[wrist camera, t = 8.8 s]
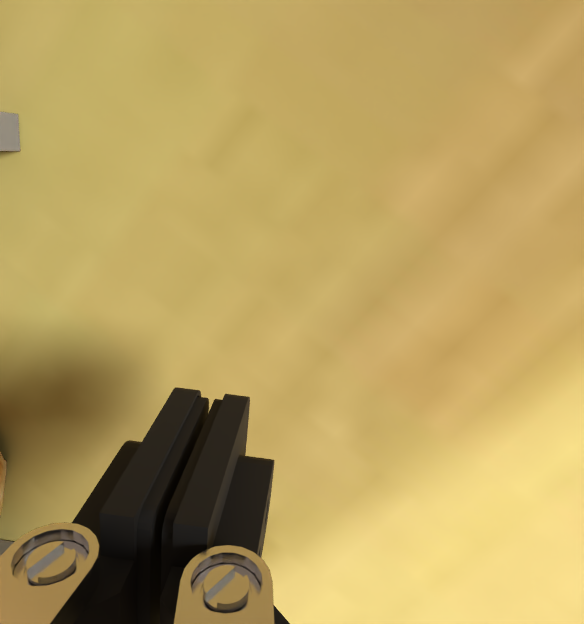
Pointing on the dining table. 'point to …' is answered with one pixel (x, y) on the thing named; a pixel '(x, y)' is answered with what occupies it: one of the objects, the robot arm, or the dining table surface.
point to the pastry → (2, 479)
